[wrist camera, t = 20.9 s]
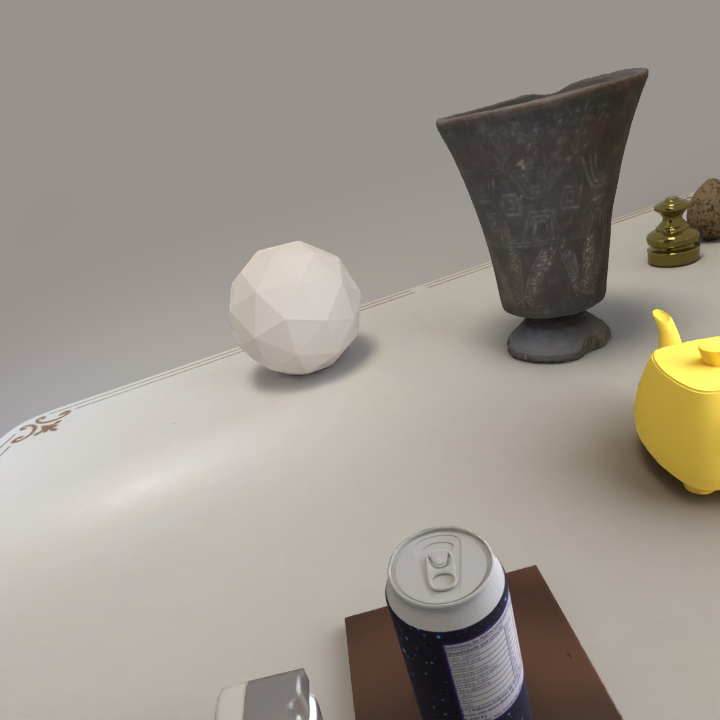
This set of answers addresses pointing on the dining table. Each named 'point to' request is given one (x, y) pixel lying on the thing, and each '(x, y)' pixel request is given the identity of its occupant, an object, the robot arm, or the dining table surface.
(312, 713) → the robot arm
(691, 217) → the decorative egg
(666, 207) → the gold tiered tapered piece
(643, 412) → the teapot
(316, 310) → the ball
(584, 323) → the vase
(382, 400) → the dining table surface
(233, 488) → the dining table surface
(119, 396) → the dining table surface
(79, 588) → the dining table surface
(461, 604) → the beverage can
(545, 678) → the walnut board
